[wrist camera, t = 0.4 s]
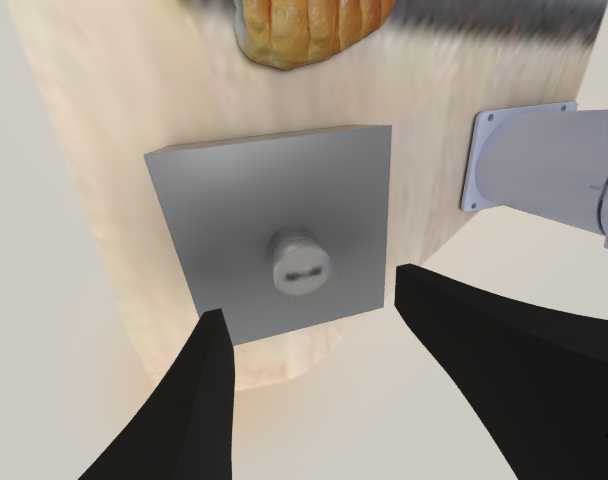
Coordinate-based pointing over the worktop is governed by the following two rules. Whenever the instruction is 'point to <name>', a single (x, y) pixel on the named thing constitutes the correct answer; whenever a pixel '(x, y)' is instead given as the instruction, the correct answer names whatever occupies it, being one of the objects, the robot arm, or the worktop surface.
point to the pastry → (304, 28)
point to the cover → (279, 225)
